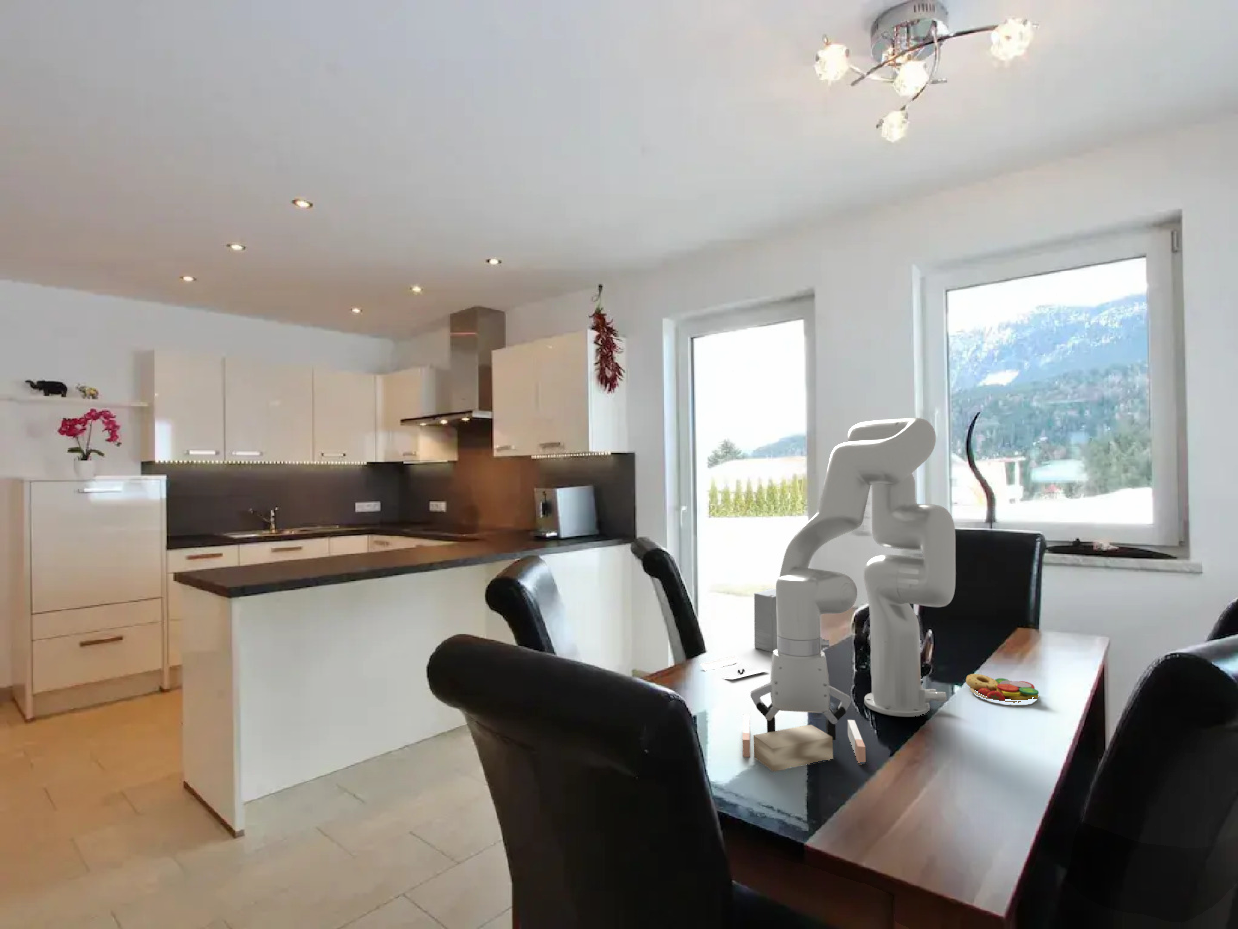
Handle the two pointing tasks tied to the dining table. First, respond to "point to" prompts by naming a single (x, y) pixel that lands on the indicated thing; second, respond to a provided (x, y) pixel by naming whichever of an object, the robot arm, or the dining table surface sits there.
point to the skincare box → (765, 620)
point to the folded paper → (726, 661)
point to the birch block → (792, 747)
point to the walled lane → (852, 734)
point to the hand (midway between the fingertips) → (801, 742)
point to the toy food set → (1001, 688)
